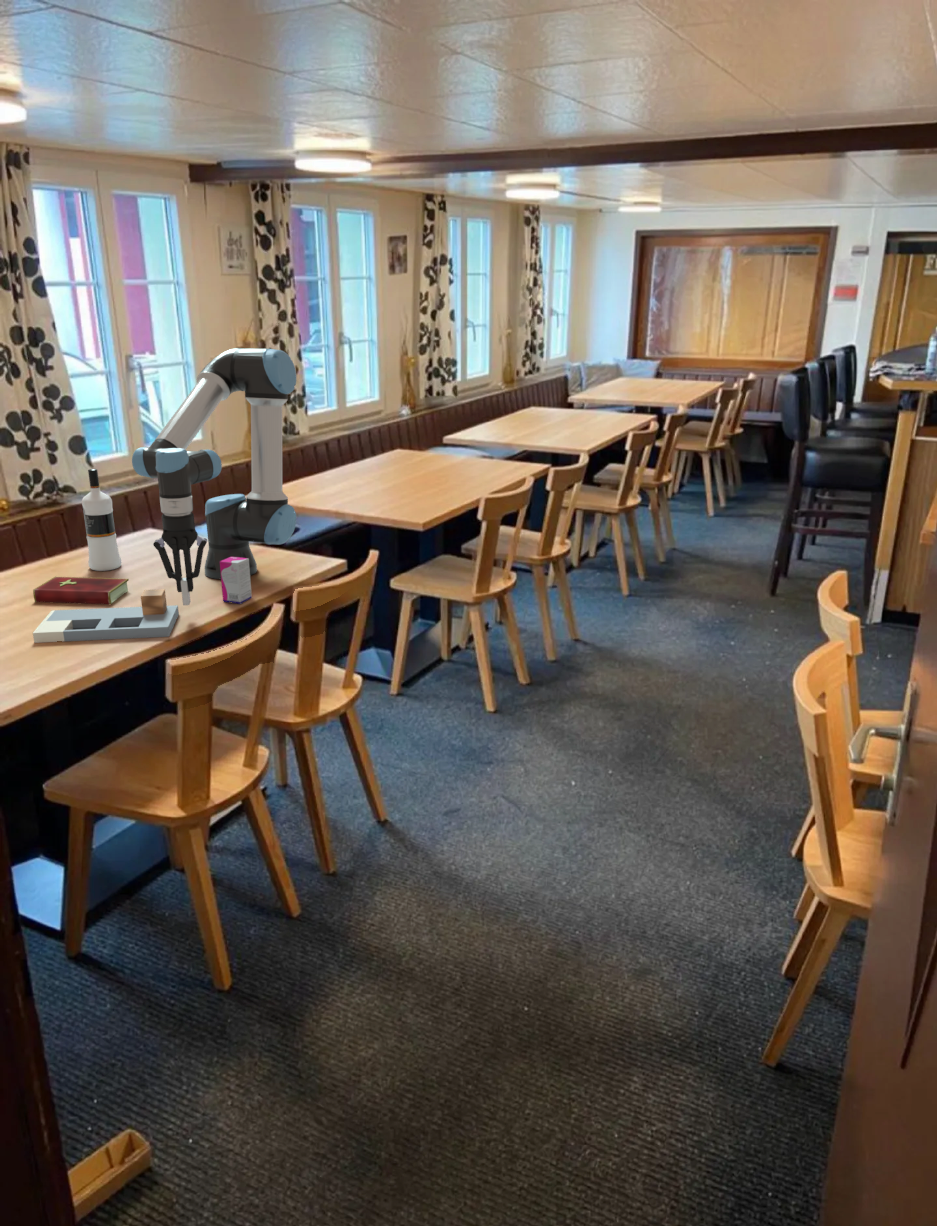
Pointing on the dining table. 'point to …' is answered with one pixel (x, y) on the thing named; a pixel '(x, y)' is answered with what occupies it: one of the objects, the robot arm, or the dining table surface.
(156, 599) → the block
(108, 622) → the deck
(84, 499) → the vodka
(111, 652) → the dining table surface
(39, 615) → the dining table surface
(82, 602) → the hardcover book
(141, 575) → the dining table surface
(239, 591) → the supplement box
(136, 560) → the dining table surface
